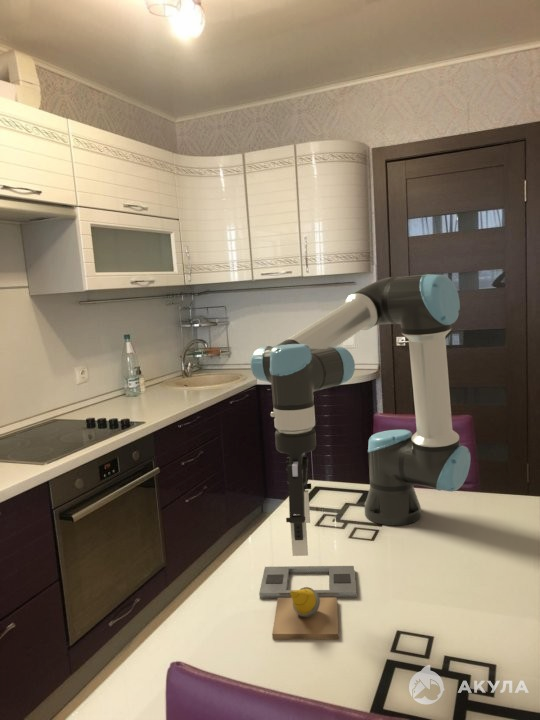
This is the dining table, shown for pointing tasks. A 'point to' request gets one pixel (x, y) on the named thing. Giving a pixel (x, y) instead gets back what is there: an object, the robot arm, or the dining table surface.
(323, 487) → the dining table surface
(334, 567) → the grey rectangular frame
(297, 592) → the yellow knob cap
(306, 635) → the pad
